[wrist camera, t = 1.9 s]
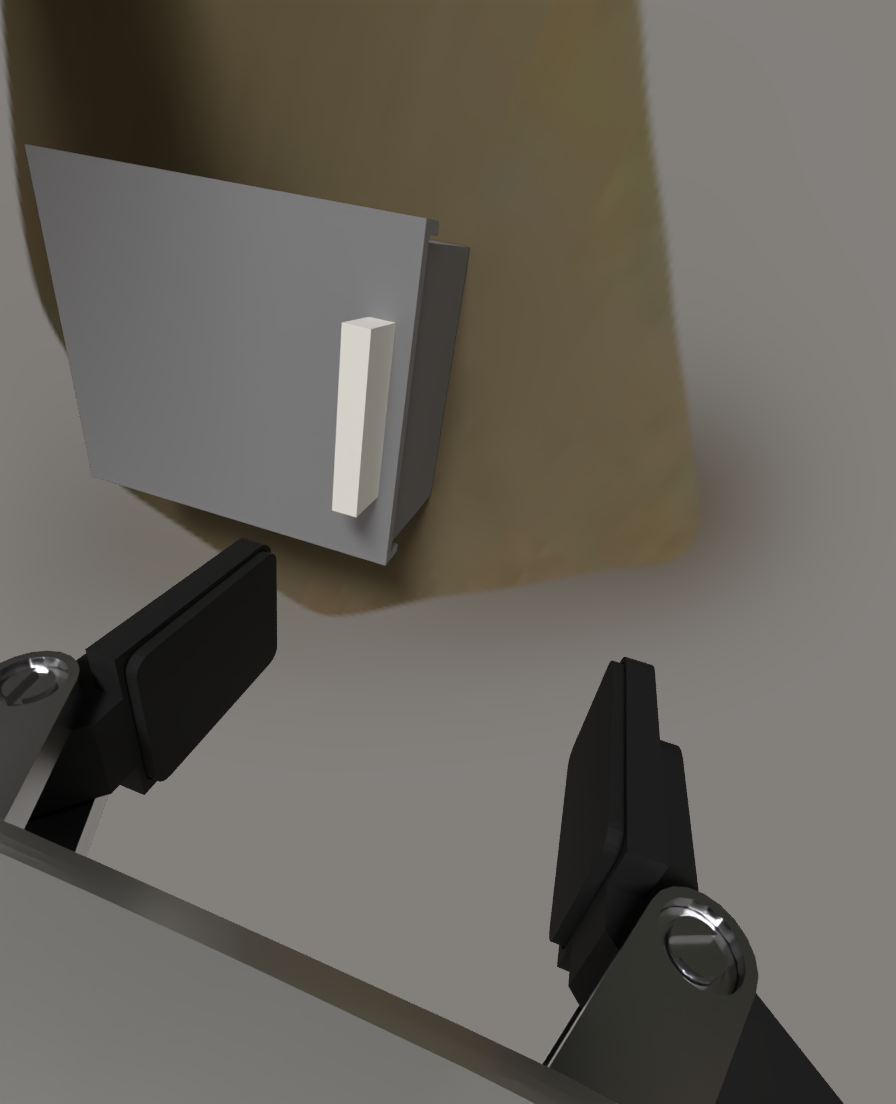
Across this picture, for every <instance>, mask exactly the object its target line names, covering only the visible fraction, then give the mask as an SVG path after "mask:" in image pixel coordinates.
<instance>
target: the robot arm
mask: <svg viewBox="0 0 896 1104" xmlns="http://www.w3.org/2000/svg"><path fill="white" fill-rule="evenodd" d="M276 650H277V583H276V557H275V555H274V554H271V550H270V548H269V547H268V546H267V545H264V544H261V543H258V542H255V541H252V540H248V539H245V538H242V539H240V540H238V541H236V542H235V543H233V544H232V545H231V546H229V547H228V548H226V549H225V550H224V551H222V552H221V553H219V554H218V555H217V556H215V557H214V558H212V559H211V560H210V561H208V562H207V563H205V564H204V565H203V566H201V567H200V568H199V569H197V570H196V571H194V572H193V573H192V574H190V575H189V576H187V577H186V578H185V579H183V580H182V581H180V582H179V583H178V584H176V585H175V586H173V587H172V588H171V589H169V590H168V591H166V592H165V593H164V594H162V595H161V596H159V597H158V598H157V599H155V600H154V601H152V602H151V603H150V604H148V605H147V606H145V607H144V608H143V609H141V610H140V611H138V612H137V613H136V614H134V615H133V616H131V617H130V618H129V619H127V620H126V621H124V622H123V623H122V624H120V625H119V626H117V627H116V628H115V629H113V630H112V631H110V632H109V633H108V634H106V635H105V636H103V637H102V638H101V639H99V640H98V641H96V642H95V643H94V644H92V645H91V646H89V647H88V648H87V649H86V654H85V655H83V656H82V657H81V658H79V659H78V660H75V659H74V658H73V657H72V656H70V655H67V654H65V653H62V652H55V651H39V652H30V653H27V654H23V655H19V656H15V657H13V658H11V659H8V660H6V661H4V662H1V663H0V1104H843V1102H842V1101H841V1100H840V1099H839V1097H838V1096H837V1095H836V1094H835V1092H834V1091H833V1090H832V1089H831V1087H830V1086H829V1085H828V1083H827V1082H826V1081H825V1080H824V1078H823V1077H822V1076H821V1075H820V1073H819V1072H818V1071H817V1070H816V1068H815V1067H814V1066H813V1065H812V1063H811V1062H810V1061H809V1060H808V1058H807V1057H806V1056H805V1054H804V1053H803V1052H802V1051H801V1049H800V1048H799V1047H798V1046H797V1044H796V1043H795V1042H794V1041H793V1039H792V1038H791V1037H790V1036H789V1034H788V1033H787V1032H786V1030H785V1029H784V1028H783V1027H782V1026H781V1024H780V1023H779V1022H778V1020H777V1019H776V1018H775V1017H774V1015H773V1014H772V1013H771V1012H770V1010H769V1009H768V1008H767V1007H766V1005H765V1004H764V1003H763V1001H762V1000H761V999H760V998H759V996H758V995H757V994H756V990H757V983H758V970H757V964H756V959H755V955H754V953H753V950H752V948H751V946H750V944H749V941H748V939H747V937H746V936H745V934H744V932H743V931H742V930H741V928H740V926H739V925H738V924H737V922H736V921H735V919H734V918H733V917H732V916H731V915H730V914H729V913H728V912H727V911H726V910H725V909H724V908H723V907H722V906H721V905H720V904H718V903H717V902H715V901H714V900H712V899H711V898H710V897H708V896H707V895H705V894H703V893H701V892H698V883H697V875H696V867H695V858H694V850H693V842H692V833H691V824H690V815H689V807H688V798H687V790H686V781H685V773H684V764H683V757H682V753H681V749H680V748H679V746H677V745H674V744H671V743H668V742H664V741H662V740H660V736H659V721H658V708H657V694H656V681H655V670H654V666H652V665H650V664H647V663H643V662H640V661H637V660H634V659H630V658H627V657H624V658H623V659H622V660H621V662H620V663H618V662H615V661H611V662H610V663H609V665H608V668H607V670H606V672H605V674H604V677H603V679H602V682H601V684H600V686H599V688H598V691H597V693H596V696H595V698H594V700H593V702H592V705H591V707H590V709H589V712H588V714H587V716H586V719H585V721H584V723H583V726H582V728H581V731H580V733H579V735H578V737H577V739H576V742H575V744H574V747H573V749H572V752H571V755H570V759H569V763H568V770H567V771H568V772H567V779H566V788H565V797H564V806H563V815H562V824H561V833H560V842H559V851H558V859H557V868H556V877H555V886H554V895H553V904H552V912H551V921H550V931H549V939H550V941H551V942H554V943H556V944H559V953H558V963H557V967H559V968H562V969H564V970H567V971H569V972H570V973H569V988H570V989H571V991H572V993H573V995H574V997H575V998H576V1000H577V1002H578V1006H577V1008H576V1009H575V1011H574V1012H573V1014H572V1016H571V1017H570V1019H569V1020H568V1022H567V1024H566V1025H565V1027H564V1028H563V1030H562V1031H561V1033H560V1035H559V1036H558V1038H557V1039H556V1041H555V1043H554V1044H553V1046H552V1047H551V1049H550V1051H549V1052H548V1054H547V1055H546V1057H545V1059H544V1060H543V1062H542V1064H540V1063H538V1062H536V1061H534V1060H532V1059H530V1058H528V1057H526V1056H524V1055H522V1054H519V1053H517V1052H515V1051H513V1050H511V1049H509V1048H507V1047H505V1046H502V1045H500V1044H498V1043H496V1042H494V1041H492V1040H490V1039H488V1038H486V1037H484V1036H481V1035H479V1034H478V1033H475V1032H473V1031H471V1030H469V1029H467V1028H465V1027H463V1026H461V1025H458V1024H456V1023H454V1022H452V1021H450V1020H448V1019H445V1018H443V1017H441V1016H439V1015H437V1014H434V1013H432V1012H430V1011H428V1010H426V1009H423V1008H421V1007H419V1006H417V1005H415V1004H412V1003H410V1002H408V1001H406V1000H404V999H401V998H399V997H397V996H395V995H393V994H390V993H388V992H386V991H384V990H382V989H379V988H377V987H375V986H373V985H370V984H368V983H366V982H364V981H362V980H360V979H357V978H355V977H353V976H350V975H349V974H346V973H344V972H342V971H340V970H338V969H335V968H333V967H331V966H329V965H326V964H324V963H322V962H320V961H318V960H315V959H313V958H311V957H309V956H307V955H304V954H302V953H300V952H298V951H296V950H293V949H291V948H289V947H287V946H284V945H282V944H280V943H278V942H275V941H273V940H271V939H269V938H267V937H264V936H262V935H260V934H258V933H255V932H253V931H251V930H248V929H246V928H244V927H242V926H240V925H238V924H235V923H233V922H231V921H228V920H226V919H224V918H222V917H220V916H217V915H215V914H213V913H211V912H209V911H206V910H204V909H202V908H200V907H197V906H195V905H193V904H191V903H188V902H186V901H184V900H182V899H179V898H177V897H175V896H173V895H171V894H168V893H166V892H164V891H161V890H159V889H157V888H155V887H153V886H150V885H148V884H146V883H144V882H141V881H139V880H137V879H135V878H132V877H130V876H128V875H126V874H123V873H121V872H119V871H116V870H114V869H112V868H110V867H108V866H105V865H103V864H101V863H98V862H96V861H94V860H92V859H89V858H87V854H88V852H89V849H90V846H91V843H92V841H93V837H94V835H95V832H96V830H97V827H98V824H99V821H100V818H101V815H102V813H103V810H104V807H105V804H106V802H107V799H108V796H109V794H111V793H112V792H113V791H114V790H115V789H116V788H117V787H118V786H119V785H122V786H124V787H126V788H129V789H131V790H134V791H136V792H138V793H141V794H143V795H145V794H146V793H147V792H148V790H149V789H150V788H151V787H152V786H153V785H154V784H155V783H156V782H157V781H164V780H165V779H167V778H168V777H169V776H170V775H171V774H172V773H173V772H174V771H175V769H177V767H178V766H179V765H180V764H181V763H182V762H183V761H184V759H185V758H186V757H187V756H188V755H189V754H190V753H191V752H192V750H193V749H194V748H195V747H196V746H197V745H198V744H199V743H200V741H201V740H202V739H203V738H204V737H205V736H206V735H207V734H208V732H209V731H210V730H211V729H212V728H213V727H214V726H215V725H216V723H217V722H218V721H219V720H220V719H221V718H222V717H223V715H224V714H225V713H226V712H227V711H228V710H229V709H230V708H231V707H232V705H233V704H234V703H235V702H236V701H237V700H238V699H239V697H240V696H241V695H242V694H243V693H244V692H245V691H246V690H247V688H248V687H249V686H250V685H251V684H252V683H253V682H254V681H255V679H256V678H257V677H258V676H259V675H260V674H261V673H262V672H263V670H264V669H265V668H266V667H267V666H268V665H269V664H270V662H271V661H272V660H273V657H274V656H275V653H276Z"/></svg>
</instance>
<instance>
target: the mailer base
mask: <svg viewBox="0 0 896 1104" xmlns="http://www.w3.org/2000/svg"><path fill="white" fill-rule="evenodd" d="M469 250H470V247H465V246H460V245H455V244H449V243H444V242H439V241H434V240H429V245H428V253H427V261H426V269H425V277H424V286H423V294H422V302H421V310H420V318H419V326H418V335H417V343H416V351H415V359H414V367H413V375H412V384H411V392H410V400H409V408H408V416H407V424H406V433H405V441H404V449H403V457H402V465H401V473H400V482H399V490H398V498H397V506H396V514H395V522H394V531H393V539H392V541H393V540H394V539H395V537H396V536H397V535H398V534H399V533H400V532H401V530H402V529H403V528H404V527H405V526H406V524H407V523H408V522H409V521H410V520H411V518H412V517H413V516H414V515H415V514H416V512H417V511H418V510H419V509H420V508H421V506H422V505H423V504H424V503H425V502H426V500H427V499H428V498H429V497H430V496H431V490H432V484H433V477H434V471H435V465H436V458H437V452H438V446H439V440H440V433H441V427H442V421H443V414H444V408H445V402H446V395H447V389H448V383H449V376H450V370H451V364H452V357H453V351H454V345H455V338H456V332H457V326H458V319H459V313H460V307H461V300H462V294H463V288H464V281H465V275H466V269H467V262H468V256H469Z"/></svg>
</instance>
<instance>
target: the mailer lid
mask: <svg viewBox="0 0 896 1104" xmlns="http://www.w3.org/2000/svg"><path fill="white" fill-rule="evenodd" d="M25 149H26V154H27V159H28V163H29V168H30V173H31V178H32V183H33V188H34V193H35V198H36V203H37V208H38V213H39V217H40V222H41V227H42V232H43V237H44V242H45V247H46V252H47V257H48V262H49V266H50V271H51V276H52V281H53V286H54V291H55V296H56V301H57V306H58V311H59V316H60V320H61V325H62V330H63V335H64V340H65V345H66V350H67V355H68V360H69V365H70V369H71V374H72V379H73V384H74V389H75V394H76V399H77V404H78V409H79V414H80V419H81V423H82V428H83V433H84V438H85V443H86V448H87V453H88V457H89V463H90V468H91V473H92V476H93V477H96V478H99V479H103V480H106V481H109V482H112V483H116V484H119V485H122V486H125V487H129V488H132V489H135V490H139V491H142V492H145V493H148V494H152V495H155V496H158V497H161V498H165V499H168V500H171V501H175V502H178V503H181V504H184V505H188V506H191V507H194V508H198V509H201V510H204V511H207V512H211V513H214V514H217V515H221V516H224V517H227V518H230V519H234V520H237V521H240V522H244V523H247V524H250V525H253V526H257V527H260V528H263V529H267V530H270V531H273V532H276V533H280V534H283V535H286V536H289V537H293V538H296V539H299V540H303V541H306V542H309V543H312V544H316V545H319V546H322V547H326V548H329V549H332V550H335V551H339V552H342V553H345V554H349V555H352V556H355V557H358V558H362V559H365V560H368V561H372V562H375V563H378V564H381V565H385V566H386V565H387V563H388V562H389V561H390V560H391V558H392V557H393V556H394V554H395V553H396V552H397V545H398V544H396V543H393V542H392V539H393V531H394V522H395V514H396V506H397V498H398V490H399V482H400V473H401V465H402V457H403V449H404V441H405V433H406V424H407V416H408V408H409V400H410V392H411V384H412V375H413V367H414V359H415V351H416V343H417V335H418V326H419V318H420V310H421V302H422V294H423V286H424V277H425V269H426V261H427V253H428V245H429V237H430V235H435V236H437V235H438V227H439V221H435V220H431V219H426V218H421V217H415V216H410V215H405V214H399V213H394V212H389V211H383V210H378V209H372V208H367V207H362V206H356V205H351V204H345V203H340V202H335V201H329V200H324V199H319V198H313V197H308V196H302V195H297V194H292V193H286V192H281V191H276V190H270V189H265V188H259V187H254V186H249V185H243V184H238V183H232V182H227V181H222V180H216V179H211V178H206V177H200V176H195V175H189V174H184V173H179V172H173V171H168V170H162V169H157V168H152V167H146V166H141V165H136V164H130V163H125V162H119V161H114V160H109V159H103V158H98V157H92V156H87V155H82V154H76V153H71V152H66V151H60V150H55V149H49V148H44V147H39V146H33V145H28V144H25Z"/></svg>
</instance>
